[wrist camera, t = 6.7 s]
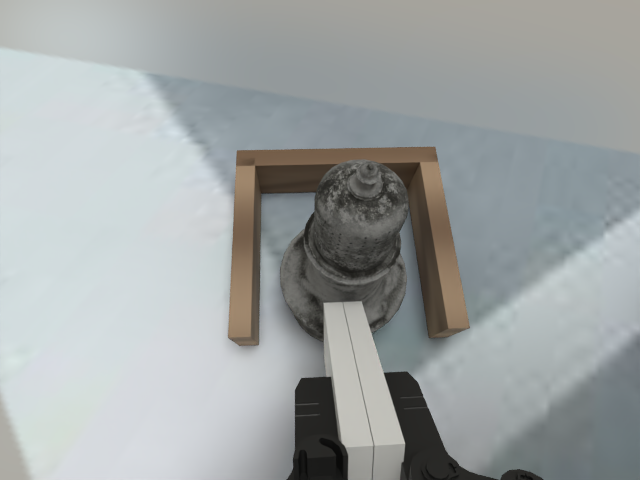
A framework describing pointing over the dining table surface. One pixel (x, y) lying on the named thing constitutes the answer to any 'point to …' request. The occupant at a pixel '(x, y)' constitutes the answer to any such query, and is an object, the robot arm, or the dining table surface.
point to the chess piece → (349, 247)
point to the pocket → (304, 176)
